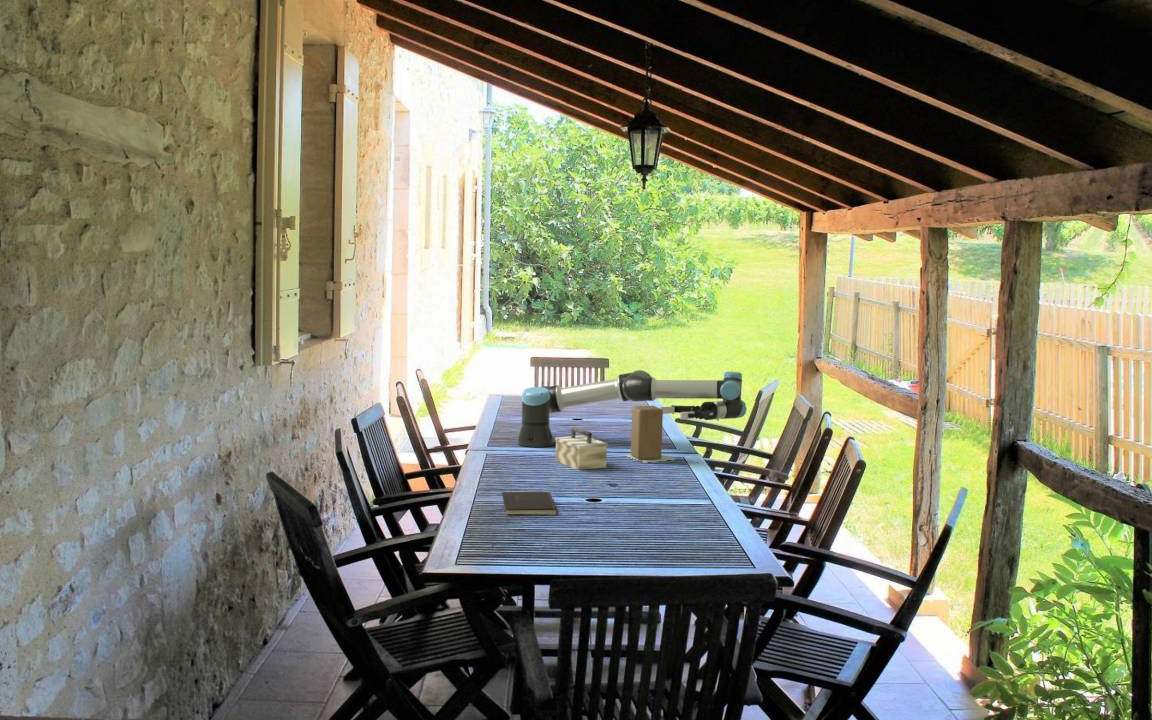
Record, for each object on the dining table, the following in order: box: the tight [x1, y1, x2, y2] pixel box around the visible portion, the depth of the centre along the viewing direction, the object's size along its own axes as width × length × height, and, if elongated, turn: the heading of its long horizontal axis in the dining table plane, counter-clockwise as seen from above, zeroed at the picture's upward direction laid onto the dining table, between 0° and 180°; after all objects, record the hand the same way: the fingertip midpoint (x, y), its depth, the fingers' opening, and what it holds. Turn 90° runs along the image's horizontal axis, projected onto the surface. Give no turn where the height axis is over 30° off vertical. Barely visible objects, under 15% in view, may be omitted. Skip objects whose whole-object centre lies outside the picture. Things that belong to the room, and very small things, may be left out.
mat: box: [625, 454, 676, 464], centre depth 400 cm, size 14×14×1 cm
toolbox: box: [554, 426, 608, 471], centre depth 386 cm, size 18×13×13 cm
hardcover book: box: [501, 491, 558, 515], centre depth 322 cm, size 16×23×2 cm
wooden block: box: [630, 405, 664, 460], centre depth 398 cm, size 10×10×20 cm
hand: (670, 413), depth 404 cm, fingers open, 13 cm apart
